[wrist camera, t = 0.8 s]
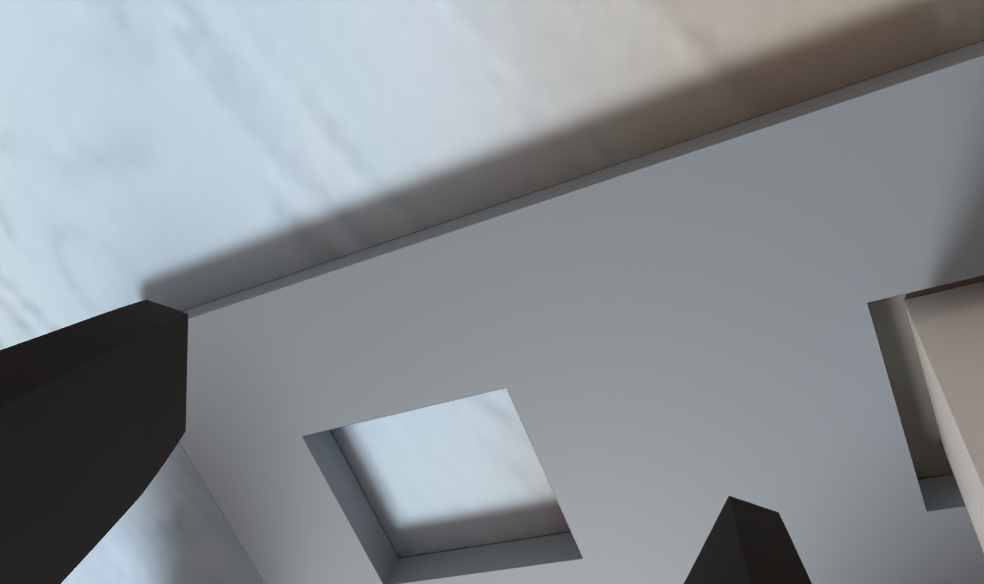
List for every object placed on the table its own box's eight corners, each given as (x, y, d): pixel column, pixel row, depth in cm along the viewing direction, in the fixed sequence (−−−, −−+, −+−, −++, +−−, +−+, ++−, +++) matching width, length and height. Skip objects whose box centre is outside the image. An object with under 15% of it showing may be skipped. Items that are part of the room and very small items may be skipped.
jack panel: (1534, 560, 17) (1606, 619, 15) (347, 668, 28) (327, 706, 27) (1526, -144, 12) (1625, -151, 11) (145, 323, 24) (109, 348, 23)
